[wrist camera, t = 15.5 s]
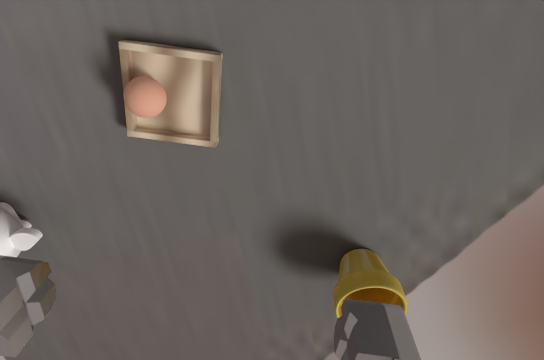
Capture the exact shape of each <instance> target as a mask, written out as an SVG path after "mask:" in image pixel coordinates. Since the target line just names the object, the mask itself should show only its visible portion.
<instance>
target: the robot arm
mask: <svg viewBox="0 0 544 360" xmlns="http://www.w3.org/2000/svg"><path fill="white" fill-rule="evenodd" d="M50 273H51V270H50V267H49V264H48V263H47V262H43V261H36V260H30V259H23V258H17V257H10V256H2V255H0V356H10V357H16V356H17V355H18V353H19V352H20V351H21V349H22V348H23V347H24V345H25V344H26V343H27V341H28V340H29V339H30V337H31V336H32V335H33V334H34V333H33V325H35V324H36V323H38V322H40V321H42V320H43V319H45V318H46V316H47V315H48V313H49V312H50V311H51V309H52V307H53V304H54V301H55V299H56V287H55V284H54V283H53V282H52V281H51V280H50V279H49V278H48V275H49V274H50ZM341 312H342V316H341V317H339V318H338V319H337V322H336V325H335V332H334V349H335V355H336V356H337V357H338V358H339V360H421V358H420V355H419V352H418V350H417V347H416V344H415V341H414V338H413V335H412V333H411V330H410V327H409V325H408V322H407V319H406V316H405V313H404V311H403V308H402V307H401V306H400V305H393V304H385V303H378V302H369V301H361V300H352V299H345V300H344V301H343V303H342V306H341Z"/></svg>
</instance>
